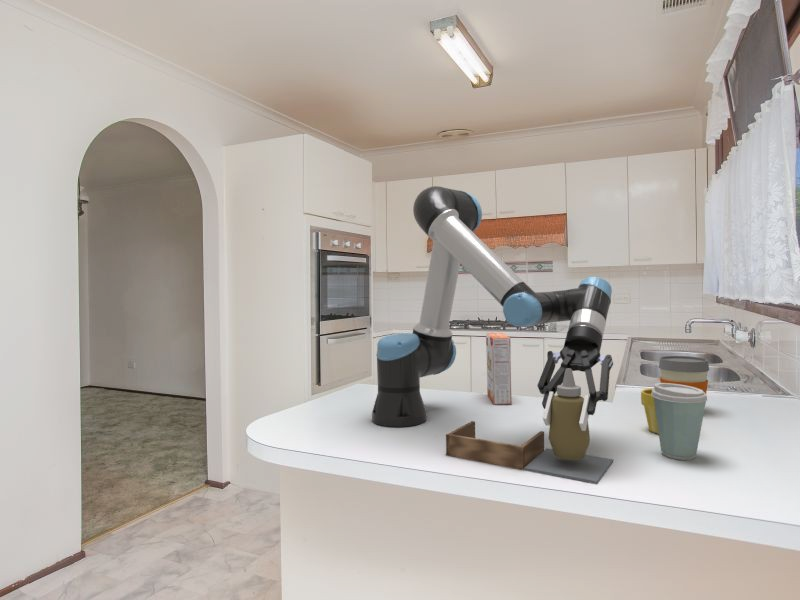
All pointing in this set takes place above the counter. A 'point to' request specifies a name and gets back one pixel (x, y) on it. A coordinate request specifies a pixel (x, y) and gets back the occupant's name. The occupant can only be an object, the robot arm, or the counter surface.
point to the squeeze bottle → (568, 421)
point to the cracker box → (498, 368)
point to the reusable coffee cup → (684, 371)
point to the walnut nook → (492, 448)
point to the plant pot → (649, 409)
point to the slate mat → (570, 466)
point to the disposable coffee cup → (679, 418)
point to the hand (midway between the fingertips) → (563, 424)
